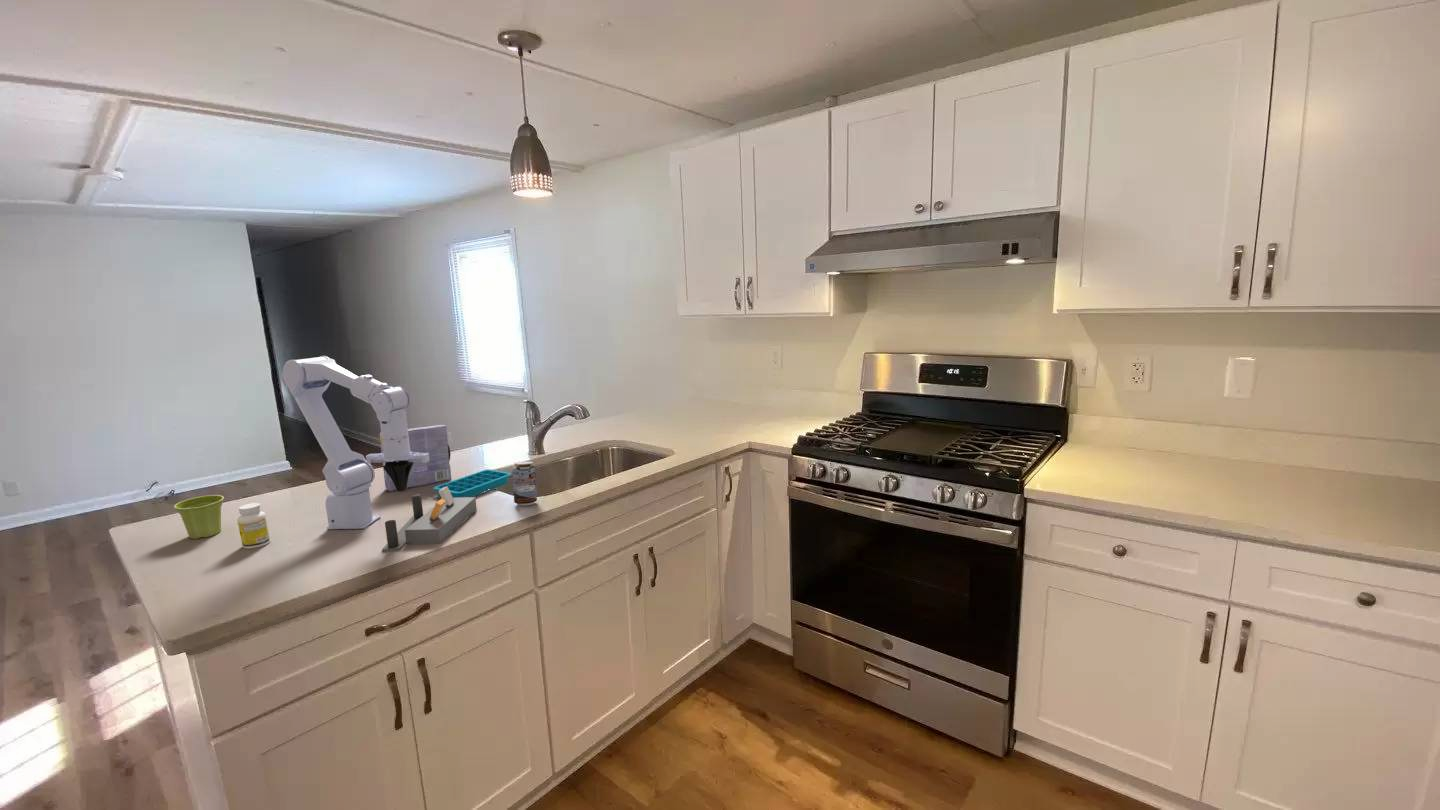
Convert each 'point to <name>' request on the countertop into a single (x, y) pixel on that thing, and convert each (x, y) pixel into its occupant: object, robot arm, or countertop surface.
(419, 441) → the cake pan box
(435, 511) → the block
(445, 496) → the paddle
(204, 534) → the plant pot
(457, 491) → the ice cube tray
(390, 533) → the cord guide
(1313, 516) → the countertop surface
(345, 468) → the robot arm
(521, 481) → the beverage can
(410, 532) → the box
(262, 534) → the supplement bottle
